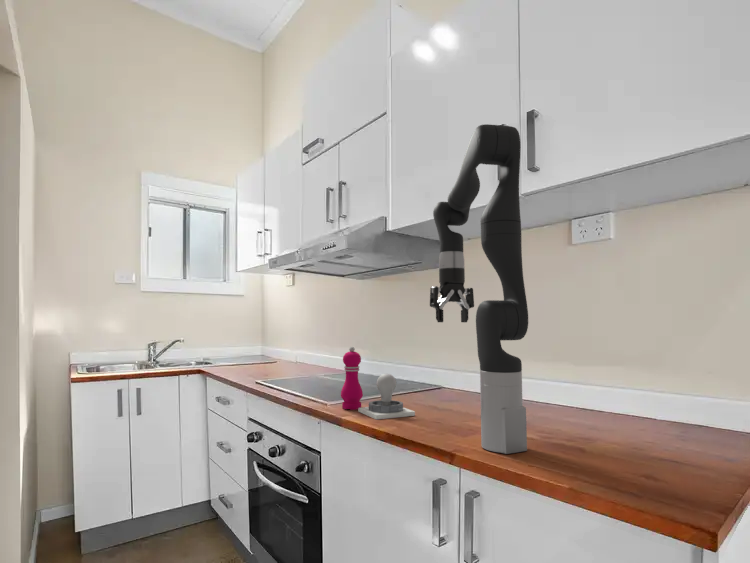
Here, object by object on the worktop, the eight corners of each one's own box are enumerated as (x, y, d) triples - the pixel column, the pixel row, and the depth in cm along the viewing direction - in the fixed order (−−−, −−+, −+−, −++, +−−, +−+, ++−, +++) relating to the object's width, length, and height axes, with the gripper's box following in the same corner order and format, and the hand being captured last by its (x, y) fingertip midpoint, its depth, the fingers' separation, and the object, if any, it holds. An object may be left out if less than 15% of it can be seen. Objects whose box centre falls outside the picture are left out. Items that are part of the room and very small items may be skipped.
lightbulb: (394, 411, 140) (394, 374, 141) (375, 411, 141) (375, 374, 142) (397, 408, 146) (397, 372, 147) (378, 407, 147) (378, 372, 148)
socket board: (414, 415, 140) (414, 411, 140) (376, 419, 135) (376, 415, 135) (394, 408, 152) (394, 404, 152) (358, 411, 146) (358, 407, 146)
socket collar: (409, 411, 141) (409, 404, 141) (378, 414, 136) (378, 407, 137) (393, 405, 150) (393, 399, 151) (363, 408, 146) (363, 401, 146)
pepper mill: (359, 405, 157) (359, 345, 159) (365, 409, 150) (365, 347, 152) (338, 406, 155) (338, 346, 156) (343, 410, 148) (344, 347, 149)
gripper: (438, 265, 132) (439, 322, 131) (478, 267, 138) (479, 322, 137) (424, 268, 139) (425, 322, 138) (463, 270, 145) (464, 322, 144)
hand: (452, 322), depth 137 cm, fingers open, 8 cm apart
